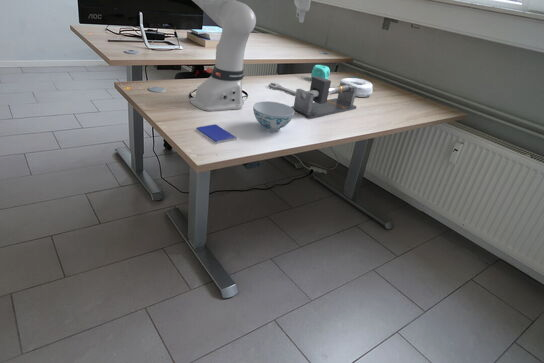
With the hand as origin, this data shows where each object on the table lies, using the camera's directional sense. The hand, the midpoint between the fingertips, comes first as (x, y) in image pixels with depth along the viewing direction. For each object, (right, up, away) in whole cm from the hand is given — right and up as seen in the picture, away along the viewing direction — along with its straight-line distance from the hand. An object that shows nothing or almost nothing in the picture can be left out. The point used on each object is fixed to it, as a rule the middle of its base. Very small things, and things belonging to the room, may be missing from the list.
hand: (299, 20), depth 154 cm
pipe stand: (+12, -33, +14) cm, 38 cm away
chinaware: (-12, -46, -13) cm, 49 cm away
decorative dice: (+15, -10, +56) cm, 59 cm away
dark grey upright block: (+8, -31, +8) cm, 33 cm away
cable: (+32, -19, +46) cm, 59 cm away
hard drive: (-30, -50, -25) cm, 64 cm away
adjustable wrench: (-4, -23, +30) cm, 38 cm away
